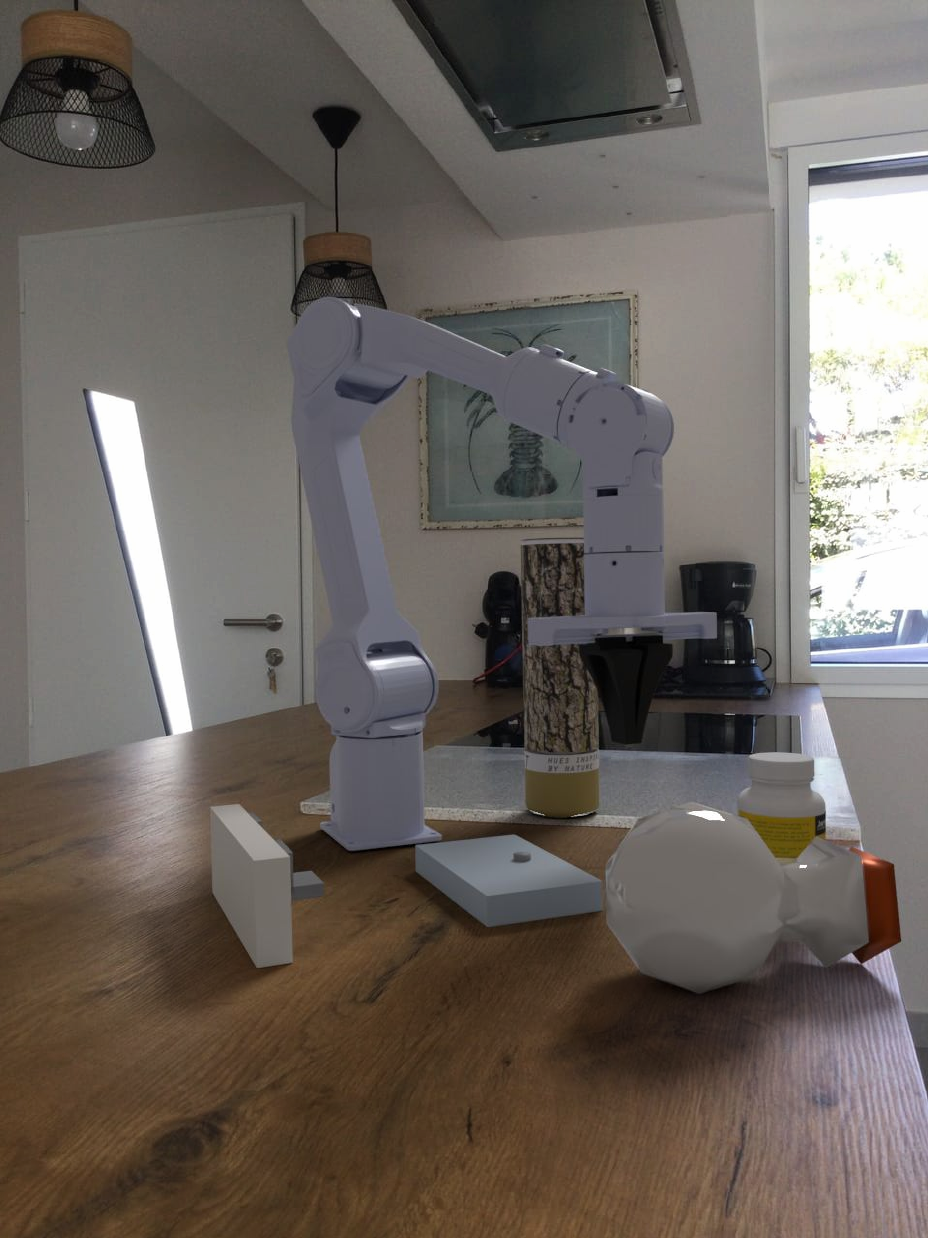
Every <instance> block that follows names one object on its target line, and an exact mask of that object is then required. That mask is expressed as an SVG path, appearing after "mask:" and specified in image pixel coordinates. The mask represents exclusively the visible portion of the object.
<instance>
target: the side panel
mask: <svg viewBox="0 0 928 1238" xmlns="http://www.w3.org/2000/svg"><path fill="white" fill-rule="evenodd" d="M209 814H210V815H209V817H210V818H209V819H210V820H209V822H210V824H209V825H210V849H211V850H210V851H211V852H210V854H211V855H210V856H211V858H210V859H211V887H212V889H211V890H212V891H211V892H212V894H213V896H214V898H215V900H216V902H217V903H218V905H219V906H220V909H221V910H222V911H223V913H224V915H225V917H226V919H227V920H228V921H229V923H230V925H231V927H232V928H233V930H234V932H235V933H236V935H237V937H238V939H239V940H240V942H241V944H242V946H243V947H244V948H245V950H246V952H247V954H248V955H249V957H250V959H251V961H252V962H253V964H254V966H255V967H256V968H257V969H261V968H262V969H263V968H268V967H273V966H274V967H275V966H282V965H287V964H293V958H294V957H293V929H292V928H293V927H292V926H293V924H292V923H293V922H292V921H293V920H292V918H293V916H292V915H293V914H292V901H301V900H308V899H316V898H323V897H324V898H325V883H324V881H322V880H321V878H320V877H319V876H317V875H316V874H315V873H314V871H313V870H306V871H297V872H294V857H293V855H294V853H293V851H292V850H291V849H290V848H289V846H288V845H287V844H285V842H284V841H283V840H282V839H281V838H277V839H274V838H273V837H272V836H271V835H270V834H269V833H268V832H267V831H266V830H265V829H264V828H263V821H262V820H261V819H260V818H259V817H258V816H257V815H256V814H255V813H254V812H248V811H246V809H244V807H243V806H242V805H241V804H239V803H235V804H234V803H233V804H227V805H225V804H223V805H214V806H209Z"/></svg>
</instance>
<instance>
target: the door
mask: <svg viewBox="0 0 928 1238" xmlns="http://www.w3.org/2000/svg"><path fill="white" fill-rule="evenodd" d="M414 849H415V850H414V851H415V856H414V857H415V858H414V859H415V872H416V873H418V875H420V876H421V877H422V878H424V879H425V880H426V881H428V882H429V883H431V885H433V886H434V887H435V888H437V889H438V890H439V891H440V892H441V893H443V894H445V896H447V897H448V898H449V899H451V900H452V901H453V902H454V903H456V904H457V905H459V906H460V907H461V908H462V909H463V910H465V911H466V912H467V913H469V914H470V915H471V916H472V917H474V918H475V919H476V920H478V921H479V922H480V923H481V924H483V925H484V926H485V927H487V928H490V927H492V928H493V927H497V926H506V925H511V924H518V923H519V924H520V923H526V922H533V921H539V920H546V919H552V918H553V919H554V918H560V917H567V916H574V915H575V916H576V915H582V914H587V913H588V914H589V913H594V912H596V913H597V912H602V911H604V901H603V900H604V896H603V895H604V894H603V891H604V889H603V888H604V887H603V886H604V885H603V880H601V879H599V878H598V877H596V876H593V875H592V874H590V873H588V872H586V871H584V870H583V869H580V868H579V867H577V866H574V865H573V864H572V863H569V862H567V861H565V860H563V859H561V858H560V857H558V856H556V855H554V854H552V853H550V852H548V851H547V850H544V849H543V848H541V847H539V846H538V845H535V844H533V843H531V842H530V841H528V840H525V839H524V838H522V837H520V836H518V835H517V834H508V835H507V834H505V835H497V836H496V835H495V836H487V837H479V838H470V839H459V840H451V841H441V842H435V843H431V842H430V843H424V844H423V843H421V844H415V847H414Z"/></svg>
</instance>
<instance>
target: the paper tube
mask: <svg viewBox="0 0 928 1238" xmlns="http://www.w3.org/2000/svg"><path fill="white" fill-rule="evenodd" d="M521 541H522V542H521V544H520V577H521V578H520V585H521V589H520V590H521V591H520V592H521V632H522V633H521V636H522V637H521V638H522V641H521V642H522V688H523V690H522V693H523V739H524V740H523V741H524V742H523V743H524V745H523V746H524V753H523V755H524V756H523V757H524V786H525V788H524V789H525V806H526V809H527V808H528V809H529V810H532V811H535V812H538V813H541V814H544V815H545V816H548V817H547V818H553V817H554V819H568V818H567V817H571V816H574V815H578V814H583V813H587V812H591V811H594V810H596V809H597V810H598V809H599V807H600V749H599V748H600V745H599V744H600V743H599V741H600V739H599V737H600V736H599V735H600V734H599V729H600V728H599V693H598V691H597V688H596V686H595V684H594V682H593V679H592V677H591V675H590V673H589V672H588V670H587V668H586V666H585V664H584V663H583V661H582V659H581V658H580V655H579V644H557V645H552V646H537V645H529V641H528V618H538V617H560V616H579V615H585V598H584V555H585V554H584V537H544V538H543V537H542V538H541V537H540V538H527V539H526V538H525V539H521ZM595 635H598V634H592V633H591V634H590V636H595ZM580 644H582V643H580ZM528 809H527V810H528ZM529 810H528V811H529Z"/></svg>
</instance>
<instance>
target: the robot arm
mask: <svg viewBox="0 0 928 1238" xmlns="http://www.w3.org/2000/svg"><path fill="white" fill-rule="evenodd" d="M290 333H291V334H290V336H289V338H288V339H287V341H286V347H287V348H286V349H287V353H288V357H289V361H290V367H291V371H292V376H293V391H292V392H293V393H292V403H291V404H292V405H291V412H290V414H291V417H290V421H291V422H290V423H291V431H292V435H293V441H294V445H295V450H296V455H297V459H298V465H299V469H300V473H301V479H302V483H303V488H304V493H305V496H306V503H307V507H308V512H309V515H310V516H309V517H310V521H311V526H312V530H313V535H314V540H315V545H316V549H317V553H318V558H319V559H318V560H319V564H320V568H321V569H320V570H321V574H322V578H323V583H324V587H325V592H326V597H327V601H328V607H329V610H330V611H329V612H330V616H331V620H332V624H331V626H330V627H329V629H328V631H327V632H326V633H325V635H324V636H323V637H322V638H321V640H320V641H319V643H317V646H316V647H315V653H316V659H317V664H318V665H317V666H318V667H317V668H318V672H317V678H316V685H315V697H316V703H317V706H318V709H319V712H320V714H321V716H322V717H323V719H324V720H325V722H326V723H328V725H329V726H330V730H331V731H330V734H331V735H332V736H336V737H335V738H336V740H335V742H334V743H333V746H332V748H331V750H330V754H329V791H330V792H329V793H330V796H329V797H330V799H329V800H330V820H329V821H322V822H320V823H319V828H320V829H321V830H323V831H324V832H325V833H326V834H327V835H329V836H330V837H331V838H332V839H334V840H335V841H336V842H337V843H338V844H340V845H341V846H342V847H344V848H345V849H346V850H347V851H351V852H354V851H364V850H371V849H379V848H387V847H388V848H389V847H397V846H405V845H406V846H407V845H413V844H415V845H417V844H423V843H424V844H425V843H431V842H439V841H442V837H443V836H442V834H441V833H439V832H438V831H437V830H434V829H433V828H432V827H429V826H428V825H426V824H425V787H424V786H425V783H424V782H425V781H424V779H425V778H424V741H423V740H424V736H423V733H424V732H423V728H425V727H427V726H426V725H427V724H426V723H427V722H426V721H427V720H426V715H428V714H429V713H430V712H431V710H432V709H433V707H434V706H435V704H436V702H437V699H438V696H439V687H440V685H439V676H438V673H437V670H436V668H435V666H434V663H433V662H432V661H431V660H430V658H429V657H428V656H427V654H426V653H425V651H424V648H423V646H422V642H421V638H420V633H419V632H418V630H417V629H416V628H415V627H414V625H412V623H410V622H409V621H408V620H407V619H406V618H405V617H404V616H403V615H402V614H401V612H399V611H398V609H397V604H396V599H395V593H394V589H393V586H392V585H393V584H392V581H391V576H390V572H389V567H388V562H387V558H386V553H385V548H384V544H383V539H382V535H381V530H380V526H379V520H378V516H377V512H376V507H375V501H374V499H373V493H372V489H371V484H370V479H369V474H368V470H367V465H366V462H365V455H364V452H363V446H362V444H361V438H360V433H361V431H362V430H363V428H364V427H365V425H366V424H367V422H369V421H371V420H372V419H373V418H374V417H375V415H377V414H378V413H379V412H380V411H381V409H383V407H384V406H386V404H388V403H389V402H390V401H391V400H392V399H393V398H394V397H395V396H396V395H397V394H398V393H399V392H400V391H401V390H402V389H403V388H404V387H405V386H406V385H407V383H408V382H409V381H410V379H412V378H415V379H421V378H424V376H425V375H426V373H428V372H431V373H433V374H436V375H438V376H442V377H444V378H447V379H449V380H452V381H454V382H457V383H459V384H462V385H465V386H467V387H470V388H472V389H476V390H478V391H480V392H483V393H486V394H488V395H490V396H491V398H492V401H493V404H494V408H495V410H496V412H497V414H498V415H499V416H500V418H501V419H502V420H505V421H507V422H509V423H511V424H514V425H516V426H519V427H521V428H522V429H525V430H528V431H530V432H532V433H534V434H537V435H539V436H541V437H544V438H546V439H548V440H551V441H553V442H555V443H558V444H560V445H563V446H565V447H566V448H569V449H572V450H573V451H574V452H575V453H576V455H577V456H578V458H579V460H580V461H581V465H582V511H583V513H582V517H583V518H582V519H583V521H582V522H583V538H584V554H585V555H584V598H585V615H579V616H560V617H538V618H528V641H529V645H537V646H552V645H557V644H579V655H580V658H581V659H582V661H583V663H584V664H585V666H586V668H587V670H588V672H589V673H590V675H591V677H592V679H593V682H594V684H595V686H596V688H597V691H598V697H599V698H600V702H601V704H602V707H603V710H604V714H605V718H606V721H607V725H608V730H609V734H610V739H611V742H613V743H618V744H620V745H621V744H622V745H636V744H637V745H638V744H642V741H643V738H644V732H645V728H646V723H647V720H648V719H647V718H648V716H649V715H648V714H649V712H650V707H651V704H652V701H653V699H654V695H655V693H656V690H657V689H658V688H657V687H658V685H659V683H660V681H661V678H662V677H663V674H664V673H665V671H666V669H667V667H668V665H669V664H670V663H671V660H672V659H673V655H674V644H672V643H668V642H667V643H666V642H665V643H664V641H666V640H687V639H688V640H689V639H704V640H706V639H707V640H709V639H717V638H718V628H717V627H718V622H717V621H718V620H717V618H718V617H717V615H718V614H717V612H715V611H714V612H709V611H708V612H707V611H705V612H704V611H695V612H690V611H689V612H666V602H665V601H666V599H665V598H666V597H665V596H666V595H665V593H666V591H665V586H666V585H665V535H664V533H665V527H664V526H665V523H664V519H665V518H664V517H665V516H664V487H663V486H664V485H663V482H664V480H663V478H664V477H663V457H664V456H665V455H666V454H667V452H668V451H669V449H670V447H671V445H672V442H673V438H674V433H675V423H674V417H673V415H672V413H671V410H670V409H669V407H668V406H667V404H666V403H665V402H664V401H663V400H661V399H660V398H659V397H658V396H656V395H655V394H653V393H651V392H650V390H648V389H646V388H637V387H635V386H632V385H629V384H626V383H624V382H619V381H617V377H618V374H617V373H616V372H614V371H611V370H608V369H605V368H604V367H600V368H599V369H598V370H597V372H596V371H593V370H592V369H588V368H586V367H583V366H580V365H578V364H576V363H574V362H571V361H568V360H565V359H563V358H564V356H565V352H564V351H563V350H561V349H559V348H557V347H554V346H551V345H549V344H546V343H543V344H542V345H541V347H540V349H538V348H535V347H531V346H530V347H529V346H528V347H523V348H521V349H518V350H516V351H515V352H513V353H511V354H509V355H507V356H505V355H504V354H501V353H499V352H497V351H495V350H492V349H490V348H488V347H485V346H483V345H481V344H479V343H477V342H474V341H472V340H469V339H467V338H465V337H463V336H461V335H458V334H455V333H454V332H452V331H449V330H447V329H445V328H442V327H440V326H438V325H436V324H433V323H430V322H428V321H424V320H422V319H419V318H417V317H413V316H410V315H407V314H403V313H399V312H396V311H392V310H388V309H383V308H379V307H375V306H371V305H367V304H361V303H356V302H355V303H354V305H351V304H349V303H348V302H346V301H344V300H342V299H340V298H339V297H333V296H323V297H320V298H318V299H316V300H314V301H313V302H311V303H310V304H309V305H307V306H306V308H305V309H304V311H303V312H302V313H301V315H300V317H299V319H298V320H297V323H296V324H295V326H294V328H293V330H292V332H290ZM630 628H631V629H634V628H635V629H637V628H638V629H640V630H641V631H644V632H645V631H647V632H645V633H624V634H608V633H609V629H630ZM648 632H650V633H648ZM591 633H592V634H597V635H595V636H590V634H591ZM598 634H600V635H598ZM580 643H582V644H580Z"/></svg>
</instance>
